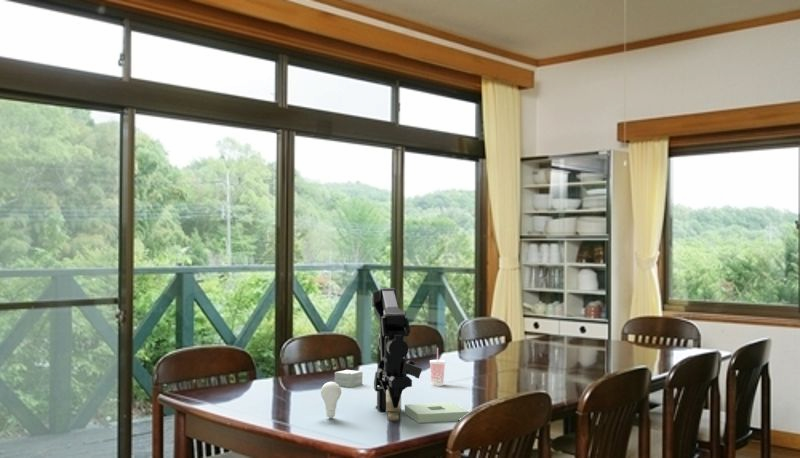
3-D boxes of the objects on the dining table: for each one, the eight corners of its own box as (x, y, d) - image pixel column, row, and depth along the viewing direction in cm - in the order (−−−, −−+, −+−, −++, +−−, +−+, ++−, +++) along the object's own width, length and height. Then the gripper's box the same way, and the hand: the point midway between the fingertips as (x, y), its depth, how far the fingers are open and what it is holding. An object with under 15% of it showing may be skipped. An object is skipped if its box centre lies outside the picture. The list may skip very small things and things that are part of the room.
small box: (346, 382, 287) (346, 369, 287) (362, 384, 283) (363, 371, 283) (333, 385, 281) (334, 372, 281) (350, 387, 277) (351, 374, 277)
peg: (387, 421, 222) (388, 391, 223) (383, 418, 227) (384, 389, 227) (402, 420, 224) (402, 391, 224) (398, 417, 228) (398, 388, 228)
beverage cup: (444, 386, 280) (444, 349, 281) (428, 385, 282) (428, 348, 282) (446, 383, 286) (446, 346, 287) (430, 382, 288) (430, 346, 288)
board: (418, 422, 221) (418, 414, 221) (404, 412, 235) (404, 404, 235) (468, 419, 226) (468, 411, 226) (452, 410, 239) (452, 402, 239)
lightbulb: (317, 419, 224) (317, 382, 225) (326, 415, 230) (326, 379, 230) (335, 421, 222) (335, 384, 222) (344, 417, 228) (344, 380, 228)
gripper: (428, 357, 219) (428, 411, 219) (410, 349, 237) (409, 398, 237) (392, 359, 216) (391, 413, 216) (376, 350, 234) (375, 400, 233)
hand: (393, 406), depth 225 cm, fingers closed on peg, 4 cm apart
